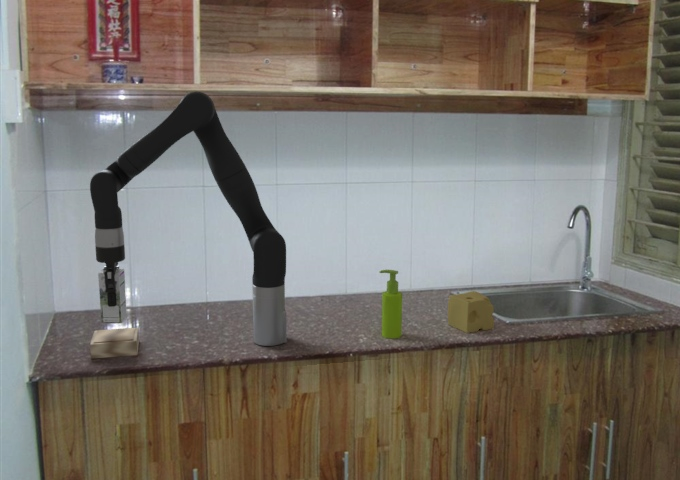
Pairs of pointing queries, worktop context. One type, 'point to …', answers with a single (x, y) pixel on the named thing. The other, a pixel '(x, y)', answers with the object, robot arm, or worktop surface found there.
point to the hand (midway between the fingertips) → (113, 302)
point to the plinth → (114, 343)
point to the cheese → (470, 312)
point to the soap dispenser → (391, 308)
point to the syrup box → (119, 311)
